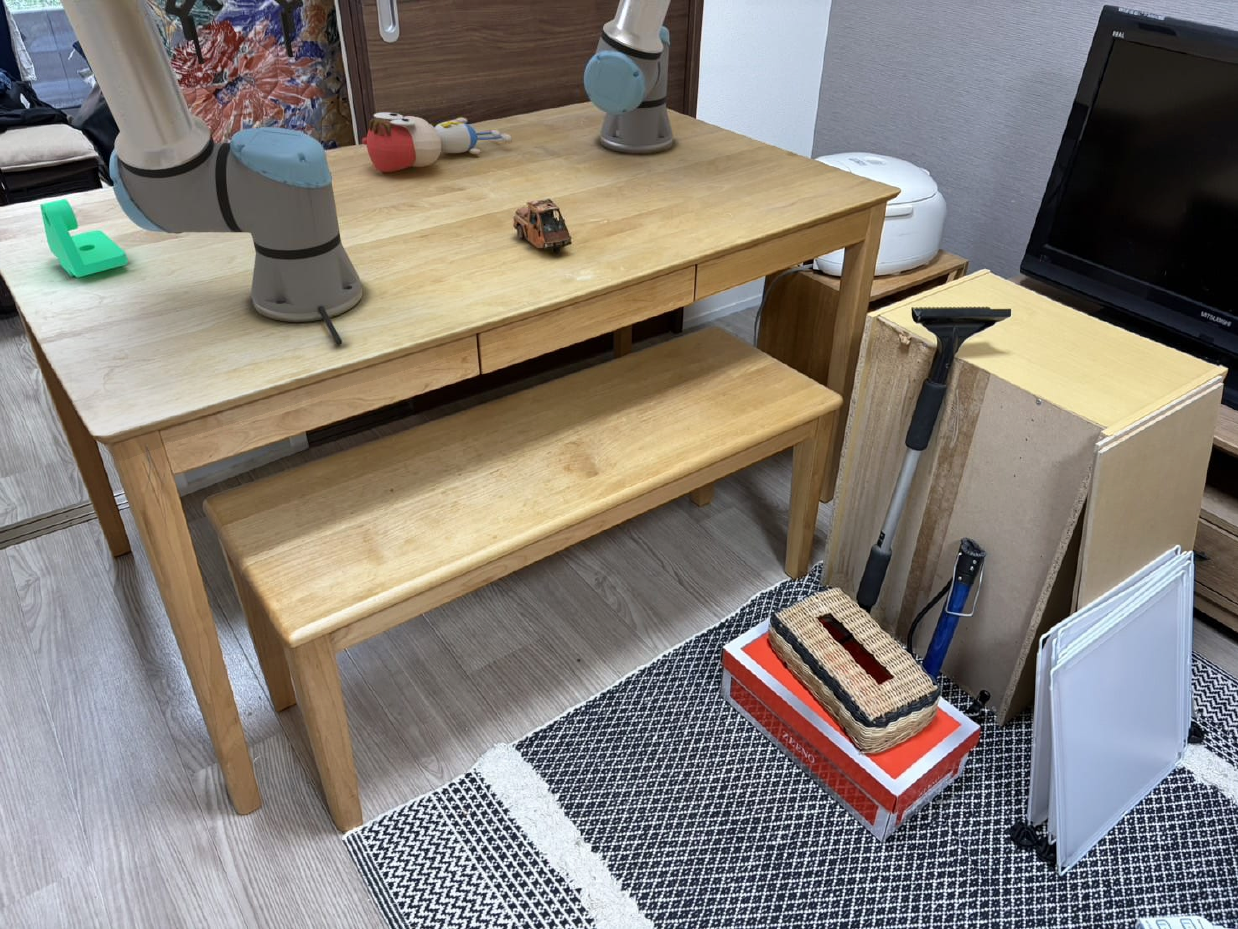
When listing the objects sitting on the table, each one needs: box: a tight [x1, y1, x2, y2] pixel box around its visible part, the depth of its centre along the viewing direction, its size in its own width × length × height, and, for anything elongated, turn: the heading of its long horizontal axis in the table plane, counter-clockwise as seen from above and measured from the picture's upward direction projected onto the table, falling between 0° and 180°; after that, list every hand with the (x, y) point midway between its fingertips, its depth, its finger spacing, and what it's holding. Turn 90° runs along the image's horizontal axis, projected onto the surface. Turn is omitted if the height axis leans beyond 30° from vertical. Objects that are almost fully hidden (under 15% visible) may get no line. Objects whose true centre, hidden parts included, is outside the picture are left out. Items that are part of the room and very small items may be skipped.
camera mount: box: [39, 198, 129, 278], centre depth 139 cm, size 12×8×10 cm, turn 42°
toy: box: [361, 111, 513, 173], centre depth 182 cm, size 18×10×30 cm
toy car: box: [512, 198, 573, 256], centre depth 150 cm, size 6×12×7 cm, turn 39°
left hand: (246, 58), depth 148 cm, fingers open, 13 cm apart
